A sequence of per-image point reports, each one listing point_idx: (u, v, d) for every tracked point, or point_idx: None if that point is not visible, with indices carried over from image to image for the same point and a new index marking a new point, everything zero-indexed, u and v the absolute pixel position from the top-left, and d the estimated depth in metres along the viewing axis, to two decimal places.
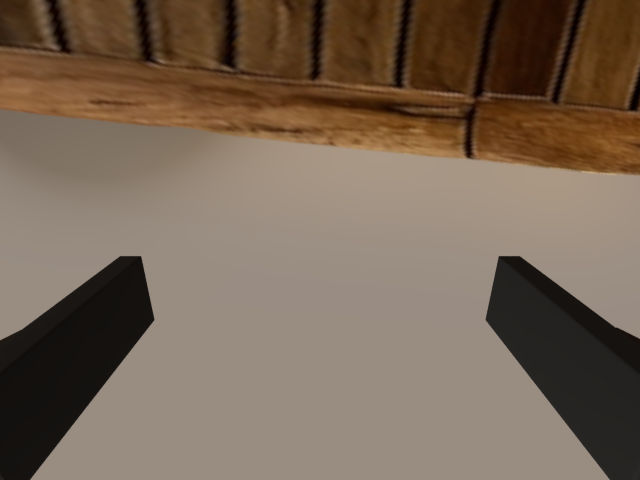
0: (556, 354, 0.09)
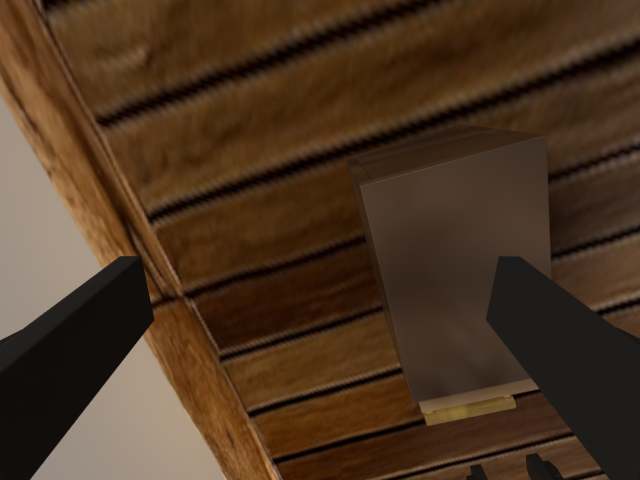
0: (556, 354, 0.09)
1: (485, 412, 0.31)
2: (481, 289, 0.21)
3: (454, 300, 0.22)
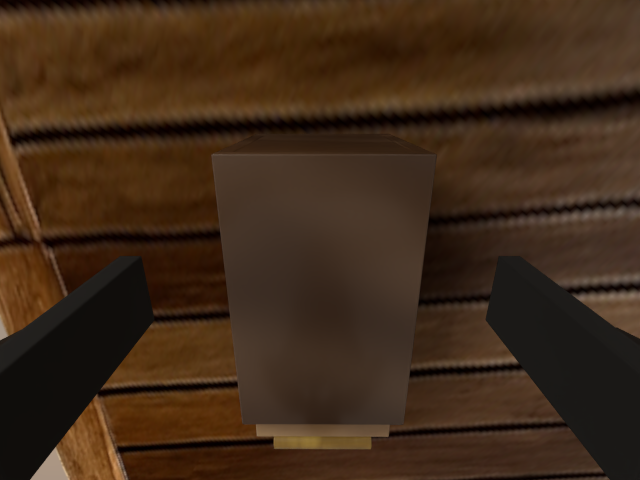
0: (556, 354, 0.09)
1: (338, 447, 0.28)
2: (337, 314, 0.18)
3: (305, 319, 0.18)
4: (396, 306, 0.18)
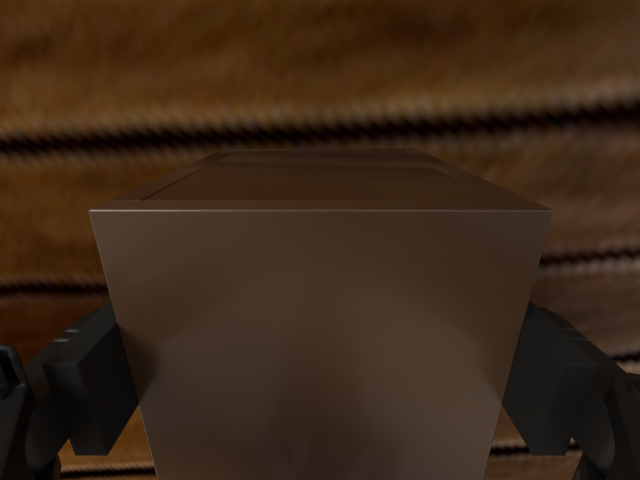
0: None
1: None
2: (345, 474, 0.10)
3: None
4: (449, 462, 0.10)
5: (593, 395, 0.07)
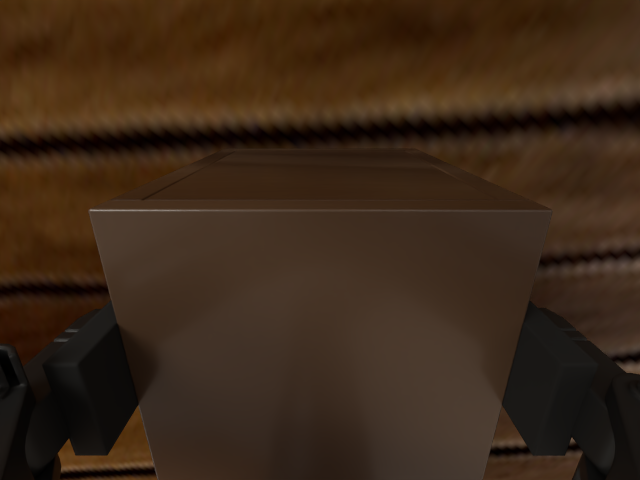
0: None
1: None
2: (345, 474, 0.10)
3: None
4: (449, 462, 0.10)
5: (592, 395, 0.07)
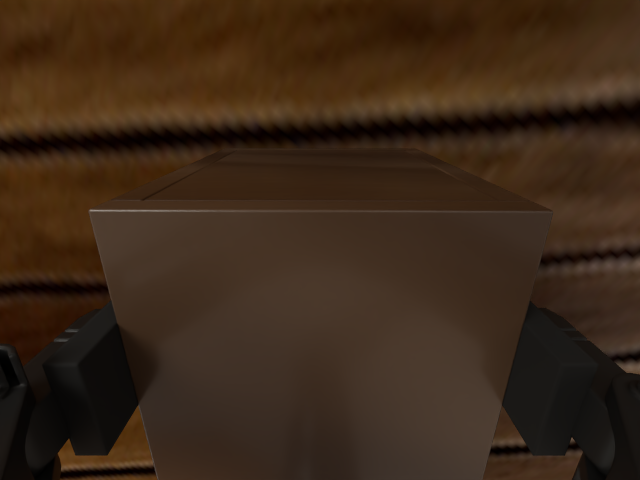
0: None
1: None
2: (344, 474, 0.10)
3: None
4: (448, 463, 0.10)
5: (593, 395, 0.07)
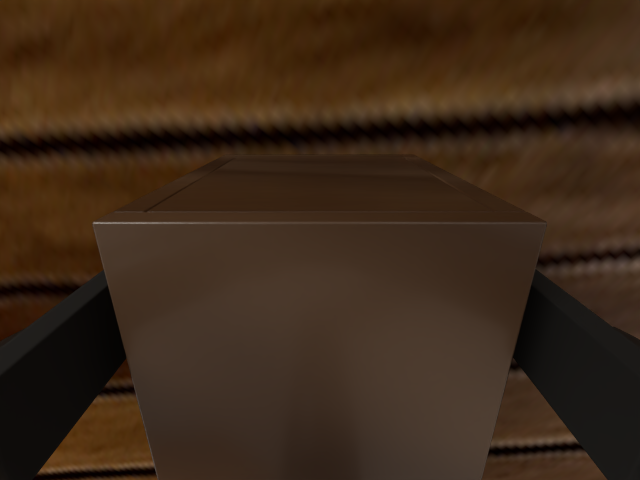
0: (553, 353, 0.09)
1: None
2: (344, 479, 0.11)
3: None
4: (447, 468, 0.10)
5: None
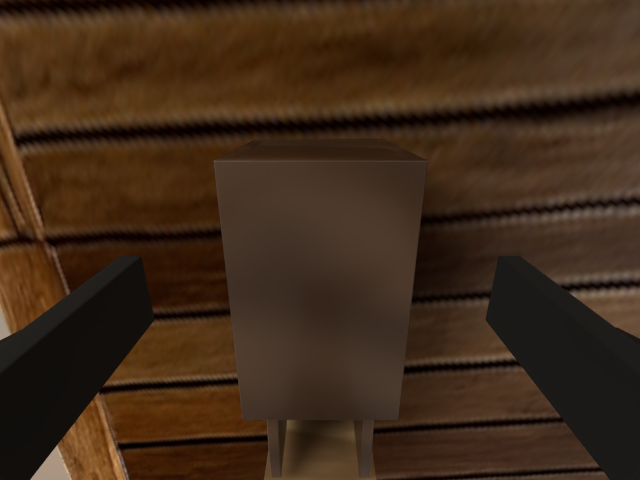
0: (556, 354, 0.09)
1: None
2: (334, 313, 0.19)
3: (303, 318, 0.19)
4: (390, 305, 0.19)
5: None
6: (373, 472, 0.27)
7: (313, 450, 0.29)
